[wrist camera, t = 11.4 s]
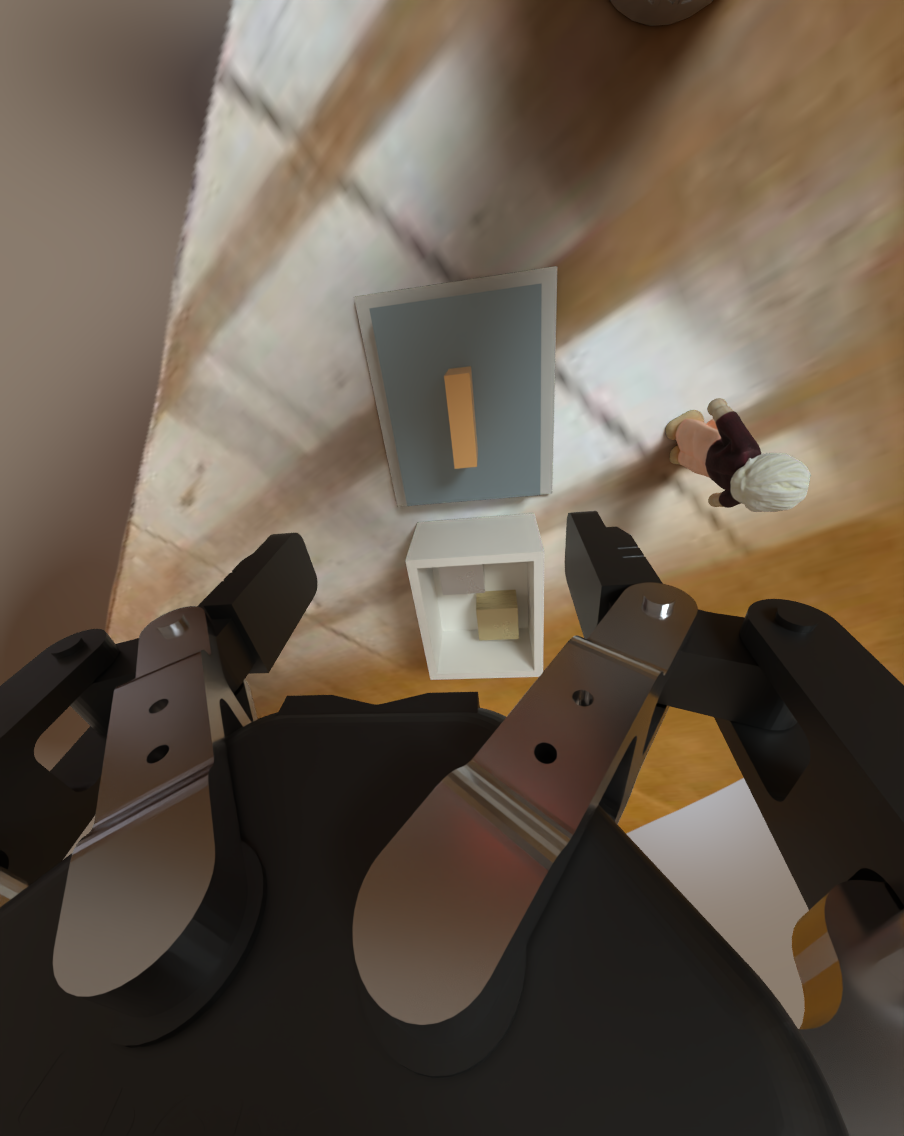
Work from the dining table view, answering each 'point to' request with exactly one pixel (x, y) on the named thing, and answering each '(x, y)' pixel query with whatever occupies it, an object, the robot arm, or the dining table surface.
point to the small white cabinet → (452, 618)
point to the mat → (454, 289)
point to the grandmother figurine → (736, 461)
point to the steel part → (462, 579)
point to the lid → (464, 393)
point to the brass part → (497, 615)
